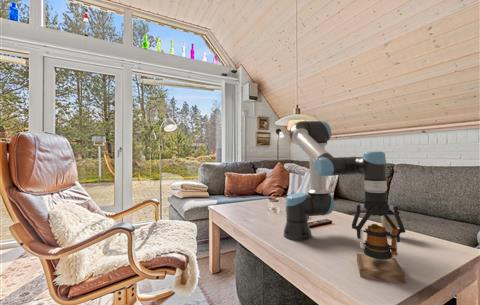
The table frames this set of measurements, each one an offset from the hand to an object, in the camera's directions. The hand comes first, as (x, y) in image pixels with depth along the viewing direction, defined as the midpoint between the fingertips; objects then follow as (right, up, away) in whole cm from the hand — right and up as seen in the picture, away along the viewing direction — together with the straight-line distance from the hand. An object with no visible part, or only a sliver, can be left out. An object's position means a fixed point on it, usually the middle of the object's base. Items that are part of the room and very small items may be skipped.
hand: (378, 248), depth 89 cm
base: (0, -9, 0) cm, 9 cm away
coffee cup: (+27, -8, +35) cm, 46 cm away
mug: (+1, -3, -1) cm, 3 cm away
